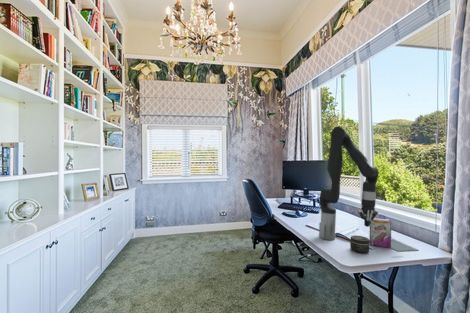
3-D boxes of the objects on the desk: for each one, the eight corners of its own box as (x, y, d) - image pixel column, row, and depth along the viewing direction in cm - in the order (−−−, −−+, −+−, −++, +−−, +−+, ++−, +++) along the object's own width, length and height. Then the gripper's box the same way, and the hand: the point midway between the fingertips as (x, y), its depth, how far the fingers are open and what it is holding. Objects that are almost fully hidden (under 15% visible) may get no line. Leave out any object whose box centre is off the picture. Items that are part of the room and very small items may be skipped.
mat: (397, 251, 137) (397, 250, 137) (374, 240, 155) (374, 239, 155) (418, 250, 140) (418, 250, 140) (393, 239, 158) (393, 239, 158)
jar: (372, 255, 131) (372, 241, 131) (353, 253, 132) (353, 240, 132) (365, 248, 141) (365, 235, 141) (347, 246, 142) (348, 234, 142)
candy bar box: (370, 245, 146) (370, 219, 146) (369, 242, 150) (369, 217, 150) (391, 248, 141) (391, 221, 141) (389, 245, 146) (389, 219, 145)
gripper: (363, 199, 139) (362, 228, 140) (382, 199, 142) (381, 228, 142) (354, 197, 147) (353, 224, 147) (373, 197, 149) (371, 224, 150)
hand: (367, 226), depth 145 cm, fingers closed
